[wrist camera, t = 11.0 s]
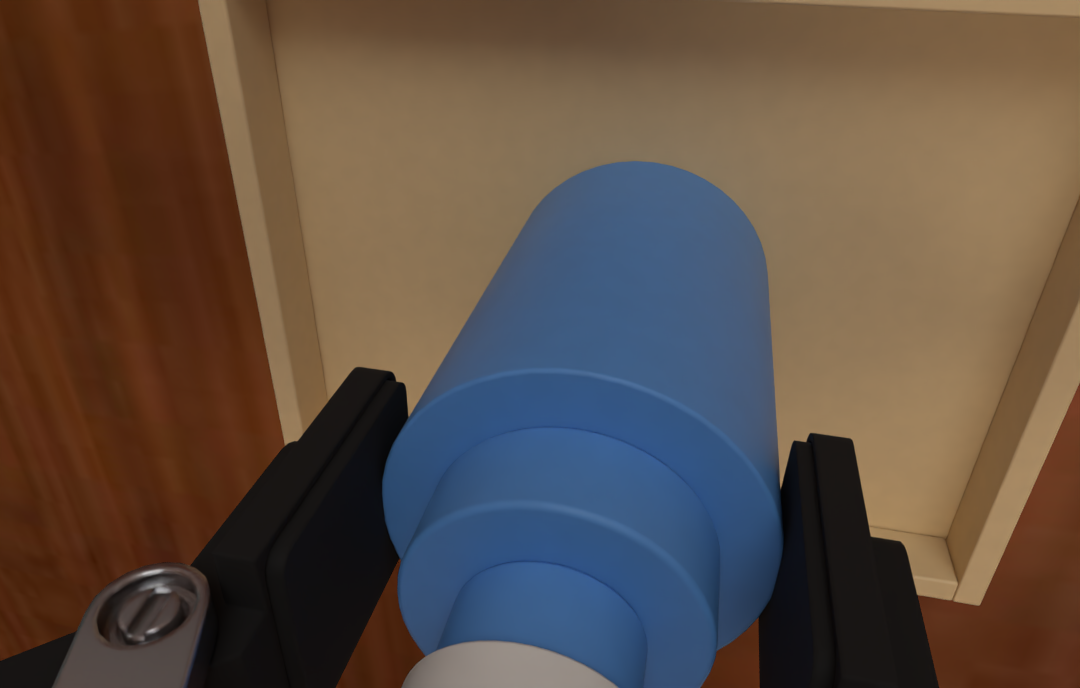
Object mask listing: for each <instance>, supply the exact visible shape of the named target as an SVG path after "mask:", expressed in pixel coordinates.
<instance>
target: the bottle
mask: <svg viewBox="0 0 1080 688" xmlns="http://www.w3.org/2000/svg"><path fill="white" fill-rule="evenodd" d="M382 498H383V508H384V517H385V523H386V526H387V529H388V533H389V536H390V539H391V541H392V543H393V545H394V548H395V550H396V552H397V554H398V556H399V558H400V560H401V564H400V568H399V573H398V587H397V591H398V600H399V607H400V610H401V613H402V617H403V620H404V622H405V624H406V627H407V629H408V631H409V633H410V635H411V636H412V638H413V639H414V641H415V642H416V644H417V645H418V647H419V648H420V650H421V651H422V652H423V653H424V654H425V656H426V657H424V658H423V659H422V660H421V661H419V662H418V663H417V664H416V665H415V666H414V667H413V668H412V670H411V671H410V672H409V673H408V675H407V677H406V679H405V681H404V683H403V685H402V688H700V687H701V686H702V684H703V682H704V681H705V679H706V678H707V676H708V675H709V673H710V671H711V668H712V666H713V663H714V660H715V657H716V651H717V650H719V649H721V648H722V647H724V646H726V645H728V644H729V643H731V642H732V641H733V640H735V639H736V638H737V637H738V636H740V635H741V634H742V633H743V632H745V631H746V630H747V629H748V628H749V627H750V626H751V625H752V623H753V622H754V621H755V620H756V619H757V618H758V617H759V616H760V614H761V613H762V611H763V610H764V608H765V607H766V605H767V604H768V602H769V601H770V599H771V597H772V594H773V590H774V587H775V583H776V579H777V575H778V571H779V567H780V563H781V559H782V554H783V546H784V536H783V520H782V503H781V486H780V469H779V453H778V436H777V419H776V403H775V386H774V369H773V353H772V336H771V319H770V303H769V286H768V272H767V265H766V258H765V254H764V251H763V248H762V244H761V242H760V239H759V237H758V235H757V233H756V231H755V229H754V227H753V225H752V224H751V222H750V221H749V219H748V218H747V216H746V215H745V213H744V212H743V211H742V210H741V209H740V208H739V206H738V205H737V204H736V203H735V202H734V201H733V200H732V199H731V198H730V197H729V196H727V195H726V194H725V193H724V192H723V191H722V190H720V189H719V188H718V187H716V186H715V185H713V184H712V183H710V182H708V181H707V180H705V179H703V178H701V177H699V176H697V175H695V174H693V173H691V172H689V171H686V170H683V169H680V168H677V167H674V166H670V165H665V164H660V163H655V162H642V161H629V162H616V163H611V164H606V165H601V166H598V167H595V168H592V169H589V170H586V171H583V172H581V173H579V174H577V175H575V176H573V177H571V178H569V179H567V180H566V181H564V182H563V183H561V184H560V185H559V186H557V187H556V188H554V189H553V190H552V191H551V192H550V193H549V194H548V195H547V196H545V197H544V198H543V199H542V201H541V202H540V203H539V204H538V205H537V207H536V208H535V209H534V210H533V212H532V213H531V215H530V217H529V218H528V220H527V221H526V223H525V225H524V226H523V228H522V230H521V231H520V233H519V235H518V236H517V238H516V240H515V241H514V243H513V245H512V246H511V248H510V250H509V251H508V253H507V255H506V256H505V258H504V260H503V261H502V263H501V265H500V266H499V268H498V270H497V271H496V273H495V275H494V276H493V278H492V280H491V281H490V283H489V285H488V286H487V288H486V290H485V291H484V293H483V295H482V296H481V298H480V300H479V301H478V303H477V305H476V306H475V308H474V310H473V311H472V313H471V315H470V316H469V318H468V320H467V321H466V323H465V325H464V326H463V328H462V330H461V331H460V333H459V335H458V336H457V338H456V340H455V341H454V343H453V345H452V346H451V348H450V350H449V351H448V353H447V355H446V356H445V358H444V360H443V361H442V363H441V365H440V366H439V368H438V370H437V371H436V373H435V375H434V376H433V378H432V380H431V381H430V383H429V385H428V386H427V388H426V390H425V391H424V393H423V395H422V396H421V398H420V400H419V401H418V403H417V404H416V406H415V408H414V409H413V411H412V413H411V414H410V416H409V418H408V419H407V421H406V423H405V424H404V426H403V428H402V429H401V431H400V433H399V434H398V436H397V438H396V439H395V441H394V443H393V445H392V447H391V450H390V452H389V455H388V458H387V460H386V464H385V469H384V474H383V479H382Z"/></svg>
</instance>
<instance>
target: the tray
mask: <svg viewBox="0 0 1080 688" xmlns="http://www.w3.org/2000/svg"><path fill="white" fill-rule="evenodd" d="M198 4H199V9H200V14H201V19H202V24H203V29H204V34H205V39H206V44H207V49H208V55H209V60H210V65H211V70H212V75H213V80H214V85H215V90H216V95H217V100H218V106H219V111H220V116H221V121H222V126H223V131H224V136H225V141H226V146H227V152H228V157H229V162H230V167H231V172H232V177H233V182H234V187H235V192H236V197H237V203H238V208H239V213H240V218H241V223H242V228H243V233H244V238H245V243H246V248H247V254H248V259H249V264H250V269H251V274H252V279H253V284H254V289H255V294H256V299H257V305H258V310H259V315H260V320H261V325H262V330H263V335H264V340H265V345H266V350H267V356H268V361H269V366H270V371H271V376H272V381H273V386H274V391H275V396H276V402H277V407H278V412H279V417H280V422H281V427H282V432H283V437H284V442H285V446H286V445H287V444H288V443H290V442H293V441H298V440H299V439H300V437H301V436H302V435H303V433H304V432H305V431H306V430H307V428H308V427H309V426H310V424H311V423H312V422H313V420H314V419H315V418H316V417H317V415H318V414H319V413H320V411H321V410H322V409H323V407H324V406H325V405H326V404H327V402H328V401H329V400H330V398H331V397H332V396H333V394H334V393H335V392H336V391H337V389H338V388H339V387H340V385H341V384H342V383H343V382H344V380H345V379H346V378H347V376H348V375H349V374H350V372H351V371H352V370H353V369H354V368H355V367H365V368H372V369H379V370H385V371H391V372H393V373H394V375H395V377H396V382H403V383H404V384H405V386H406V391H407V404H408V417H409V416H410V414H411V413H412V411H413V409H414V408H415V406H416V404H417V403H418V401H419V400H420V398H421V396H422V395H423V393H424V391H425V390H426V388H427V386H428V385H429V383H430V381H431V380H432V378H433V376H434V375H435V373H436V371H437V370H438V368H439V366H440V365H441V363H442V361H443V360H444V358H445V356H446V355H447V353H448V351H449V350H450V348H451V346H452V345H453V343H454V341H455V340H456V338H457V336H458V335H459V333H460V331H461V330H462V328H463V326H464V325H465V323H466V321H467V320H468V318H469V316H470V315H471V313H472V311H473V310H474V308H475V306H476V305H477V303H478V301H479V300H480V298H481V296H482V295H483V293H484V291H485V290H486V288H487V286H488V285H489V283H490V281H491V280H492V278H493V276H494V275H495V273H496V271H497V270H498V268H499V266H500V265H501V263H502V261H503V260H504V258H505V256H506V255H507V253H508V251H509V250H510V248H511V246H512V245H513V243H514V241H515V240H516V238H517V236H518V235H519V233H520V231H521V230H522V228H523V226H524V225H525V223H526V221H527V220H528V218H529V217H530V215H531V213H532V212H533V210H534V209H535V208H536V207H537V205H538V204H539V203H540V202H541V201H542V199H543V198H544V197H545V196H547V195H548V194H549V193H550V192H551V191H552V190H553V189H554V188H556V187H557V186H559V185H560V184H561V183H563V182H564V181H566V180H567V179H569V178H571V177H573V176H575V175H577V174H579V173H581V172H583V171H586V170H589V169H592V168H595V167H598V166H601V165H606V164H611V163H616V162H629V161H642V162H655V163H660V164H665V165H670V166H674V167H677V168H680V169H683V170H686V171H689V172H691V173H693V174H695V175H697V176H699V177H701V178H703V179H705V180H707V181H708V182H710V183H712V184H713V185H715V186H716V187H718V188H719V189H720V190H722V191H723V192H724V193H725V194H726V195H727V196H729V197H730V198H731V199H732V200H733V201H734V202H735V203H736V204H737V205H738V206H739V208H740V209H741V210H742V211H743V212H744V213H745V215H746V216H747V218H748V219H749V221H750V222H751V224H752V225H753V227H754V229H755V231H756V233H757V235H758V237H759V239H760V242H761V244H762V248H763V251H764V254H765V258H766V265H767V272H768V286H769V303H770V319H771V336H772V353H773V369H774V386H775V403H776V419H777V436H778V453H779V469H780V486H781V487H782V482H783V478H784V474H785V470H786V466H787V462H788V458H789V454H790V449H791V446H792V443H793V441H794V440H795V441H802V442H806V441H807V438H808V436H809V434H810V433H817V434H824V435H831V436H838V437H845V438H851V439H852V440H853V444H854V448H855V454H856V459H857V465H858V470H859V475H860V481H861V486H862V491H863V497H864V502H865V507H866V513H867V518H868V524H869V529H870V534H871V536H872V537H878V538H884V539H890V540H896V541H901V542H902V543H903V545H904V546H905V548H906V551H907V554H908V558H909V562H910V566H911V571H912V575H913V579H914V583H915V588H916V592H917V595H921V596H927V597H933V598H939V599H945V600H952V599H953V601H954V602H960V603H966V604H972V605H977V606H978V605H980V604H981V601H982V599H983V597H984V595H985V593H986V590H987V588H988V586H989V584H990V581H991V579H992V577H993V575H994V572H995V570H996V568H997V566H998V564H999V561H1000V559H1001V557H1002V555H1003V552H1004V550H1005V548H1006V546H1007V543H1008V541H1009V539H1010V537H1011V535H1012V532H1013V530H1014V528H1015V526H1016V523H1017V521H1018V519H1019V517H1020V514H1021V512H1022V510H1023V508H1024V506H1025V503H1026V501H1027V499H1028V497H1029V494H1030V492H1031V490H1032V488H1033V486H1034V483H1035V481H1036V479H1037V477H1038V474H1039V472H1040V470H1041V468H1042V465H1043V463H1044V461H1045V459H1046V457H1047V454H1048V452H1049V450H1050V448H1051V445H1052V443H1053V441H1054V439H1055V436H1056V434H1057V432H1058V430H1059V428H1060V425H1061V423H1062V421H1063V419H1064V416H1065V414H1066V412H1067V410H1068V407H1069V405H1070V403H1071V401H1072V399H1073V396H1074V394H1075V392H1076V390H1077V387H1078V385H1079V383H1080V0H198Z"/></svg>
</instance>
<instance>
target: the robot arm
mask: <svg viewBox="0 0 1080 688" xmlns="http://www.w3.org/2000/svg"><path fill="white" fill-rule="evenodd" d="M408 418H409V417H408V404H407V391H406V386H405V384H404V383H403V382H396V377H395V375H394V373H393V372H391V371H385V370H379V369H372V368H365V367H355V368H354V369H353V370H352V371H351V372H350V374H349V375H348V376H347V378H346V379H345V380H344V382H343V383H342V384H341V385H340V387H339V388H338V389H337V391H336V392H335V393H334V394H333V396H332V397H331V398H330V400H329V401H328V402H327V404H326V405H325V406H324V407H323V409H322V410H321V411H320V413H319V414H318V415H317V417H316V418H315V419H314V420H313V422H312V423H311V424H310V426H309V427H308V428H307V430H306V431H305V432H304V433H303V435H302V436H301V437H300V439H299V440H298V441H293V442H290V443H288V444H287V445H286V446H285V447H284V448H283V449H282V450H281V451H280V452H279V453H278V455H277V456H276V457H275V459H274V460H273V461H272V462H271V464H270V465H269V466H268V467H267V469H266V470H265V471H264V473H263V474H262V475H261V476H260V478H259V479H258V480H257V481H256V483H255V484H254V485H253V487H252V488H251V489H250V490H249V492H248V493H247V494H246V495H245V497H244V498H243V499H242V501H241V502H240V503H239V504H238V506H237V507H236V508H235V509H234V511H233V512H232V513H231V514H230V516H229V517H228V518H227V520H226V521H225V522H224V523H223V525H222V526H221V527H220V528H219V530H218V531H217V532H216V534H215V535H214V536H213V537H212V539H211V540H210V541H209V542H208V544H207V545H206V546H205V548H204V549H203V550H202V551H201V553H200V554H199V555H198V556H197V558H196V559H195V560H194V562H193V563H192V564H191V565H190V566H189V565H186V564H183V563H171V562H162V563H157V564H151V565H146V566H143V567H140V568H138V569H135V570H133V571H130V572H127V573H125V574H124V575H122V576H121V577H119V578H117V579H116V580H114V581H113V582H111V583H109V584H108V585H107V586H106V587H105V588H104V589H103V590H102V591H101V592H100V593H99V594H98V595H96V596H95V598H94V599H93V601H92V602H91V604H90V605H89V607H88V609H87V610H86V612H85V614H84V616H83V618H82V621H81V623H80V625H79V627H78V630H77V631H76V632H74V633H71V634H68V635H66V636H63V637H61V638H58V639H56V640H53V641H51V642H48V643H45V644H43V645H40V646H38V647H35V648H33V649H30V650H28V651H25V652H22V653H20V654H17V655H15V656H12V657H10V658H7V659H5V660H2V661H0V688H335V687H336V685H337V683H338V681H339V679H340V677H341V675H342V673H343V671H344V669H345V667H346V665H347V663H348V661H349V659H350V657H351V655H352V653H353V651H354V649H355V647H356V645H357V643H358V641H359V639H360V637H361V635H362V633H363V631H364V629H365V627H366V625H367V623H368V621H369V619H370V617H371V615H372V612H373V610H374V608H375V606H376V604H377V602H378V600H379V598H380V596H381V594H382V592H383V590H384V588H385V586H386V584H387V582H388V580H389V578H390V576H391V574H392V572H393V570H394V568H395V566H396V564H397V562H398V560H399V556H398V554H397V552H396V550H395V548H394V545H393V543H392V541H391V539H390V536H389V533H388V529H387V526H386V523H385V517H384V508H383V498H382V479H383V474H384V469H385V464H386V460H387V458H388V455H389V452H390V450H391V447H392V445H393V443H394V441H395V439H396V438H397V436H398V434H399V433H400V431H401V429H402V428H403V426H404V424H405V423H406V421H407V419H408ZM781 503H782V520H783V536H784V546H783V554H782V559H781V563H780V567H779V571H778V575H777V579H776V583H775V587H774V590H773V594H772V597H771V599H770V601H769V602H768V604H767V605H766V607H765V608H764V610H763V611H762V613H761V614H760V616H759V668H760V688H939V686H938V681H937V677H936V673H935V669H934V664H933V660H932V656H931V652H930V647H929V643H928V639H927V635H926V630H925V626H924V622H923V617H922V613H921V609H920V605H919V600H918V596H917V592H916V588H915V583H914V579H913V575H912V571H911V566H910V562H909V558H908V554H907V551H906V548H905V546H904V545H903V543H902V542H901V541H896V540H890V539H884V538H878V537H872V536H871V534H870V529H869V524H868V518H867V513H866V507H865V502H864V497H863V491H862V486H861V481H860V475H859V470H858V465H857V459H856V454H855V448H854V444H853V440H852V439H851V438H845V437H838V436H831V435H824V434H817V433H810V434H809V436H808V438H807V441H806V442H802V441H795V440H794V441H793V443H792V446H791V449H790V454H789V458H788V462H787V466H786V470H785V474H784V478H783V482H782V487H781Z"/></svg>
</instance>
